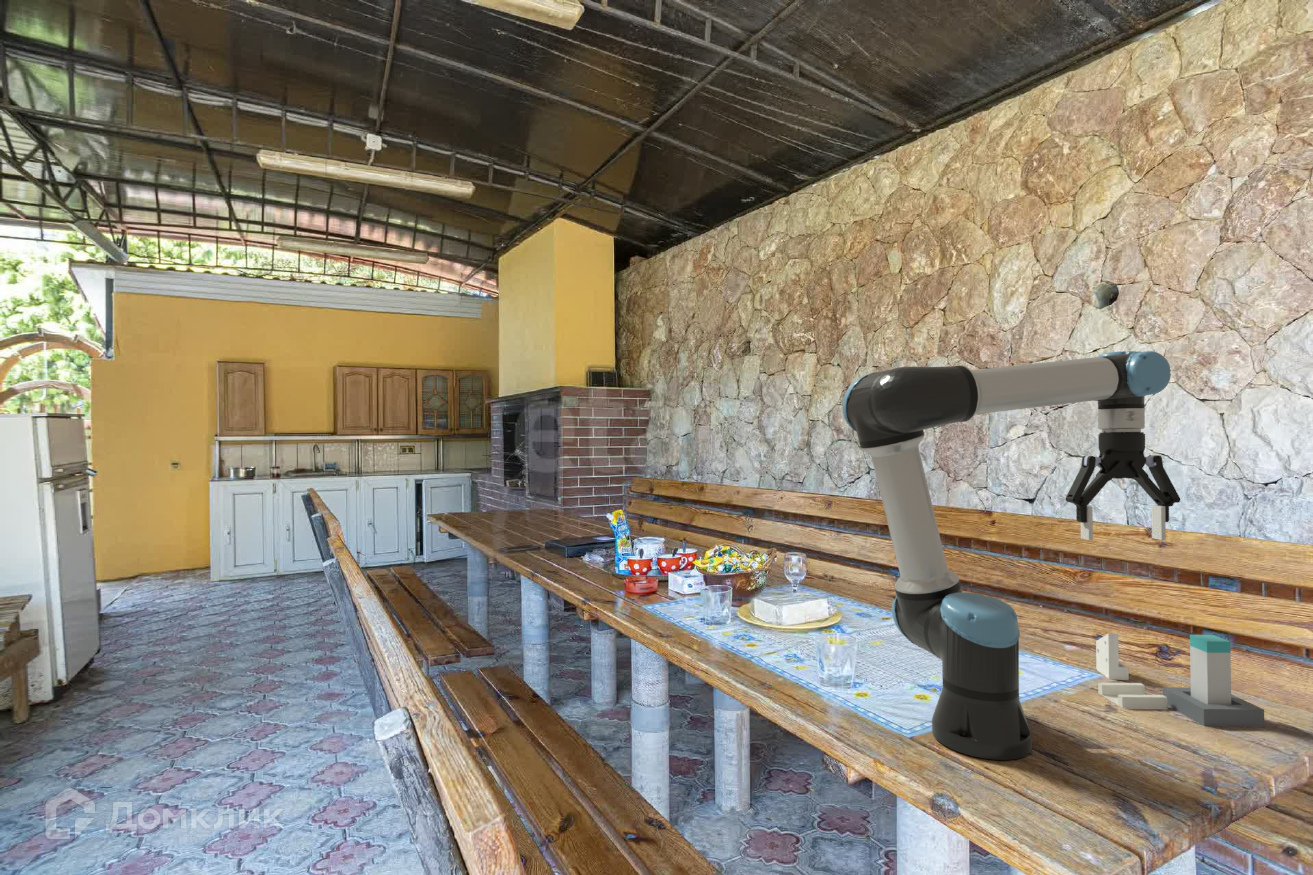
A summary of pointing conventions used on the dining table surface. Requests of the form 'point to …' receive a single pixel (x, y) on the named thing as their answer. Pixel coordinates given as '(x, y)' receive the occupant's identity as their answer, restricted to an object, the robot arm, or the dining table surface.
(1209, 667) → the plug
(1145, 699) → the white low u-shaped block
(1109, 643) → the white l-shaped bracket
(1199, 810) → the dining table surface
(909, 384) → the robot arm
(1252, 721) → the block
